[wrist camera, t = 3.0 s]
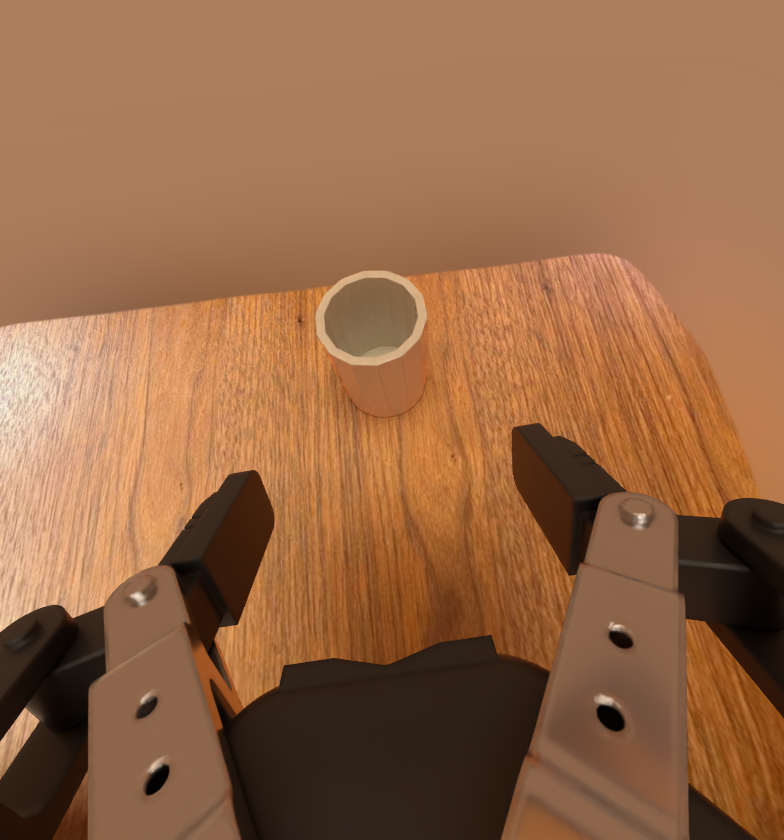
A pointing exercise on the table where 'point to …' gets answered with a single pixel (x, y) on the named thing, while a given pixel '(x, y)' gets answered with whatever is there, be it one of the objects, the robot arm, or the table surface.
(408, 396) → the cup
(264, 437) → the table surface
